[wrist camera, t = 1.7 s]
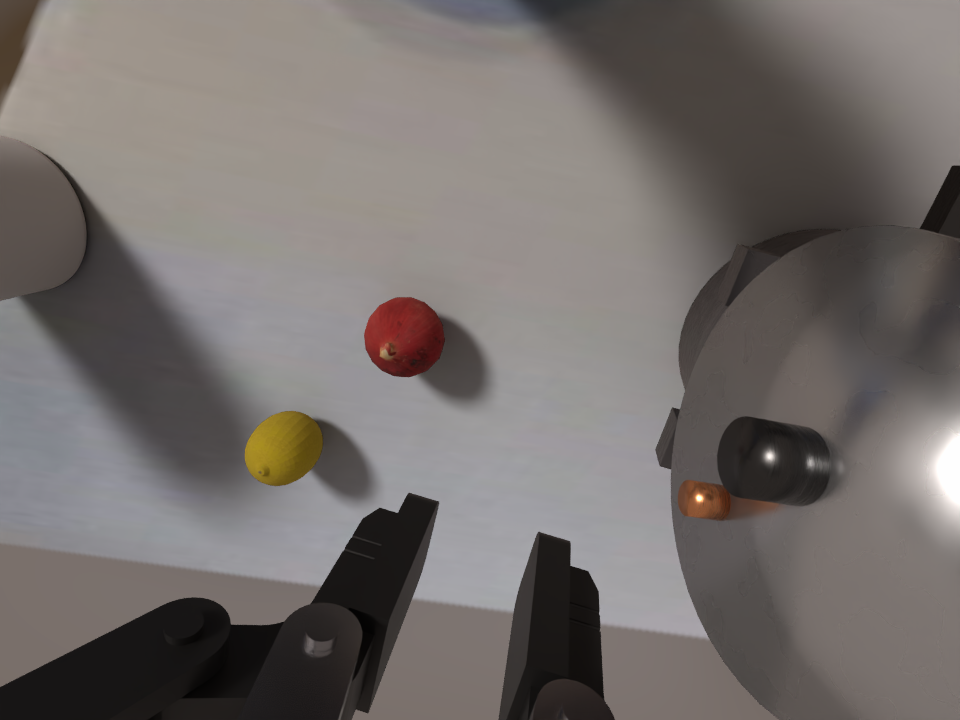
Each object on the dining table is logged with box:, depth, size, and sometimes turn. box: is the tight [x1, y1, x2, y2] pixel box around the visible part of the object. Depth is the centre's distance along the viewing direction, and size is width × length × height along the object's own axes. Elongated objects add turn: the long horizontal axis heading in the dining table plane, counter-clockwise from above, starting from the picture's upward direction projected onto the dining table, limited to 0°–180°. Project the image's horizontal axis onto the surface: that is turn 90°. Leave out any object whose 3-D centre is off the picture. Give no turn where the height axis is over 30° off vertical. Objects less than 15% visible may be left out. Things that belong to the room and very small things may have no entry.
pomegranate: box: [364, 297, 445, 377], centre depth 41 cm, size 6×6×8 cm
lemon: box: [245, 411, 323, 486], centre depth 45 cm, size 6×6×8 cm
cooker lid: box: [671, 225, 960, 720], centre depth 21 cm, size 18×18×4 cm
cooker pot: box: [655, 166, 960, 469], centre depth 34 cm, size 25×18×12 cm
